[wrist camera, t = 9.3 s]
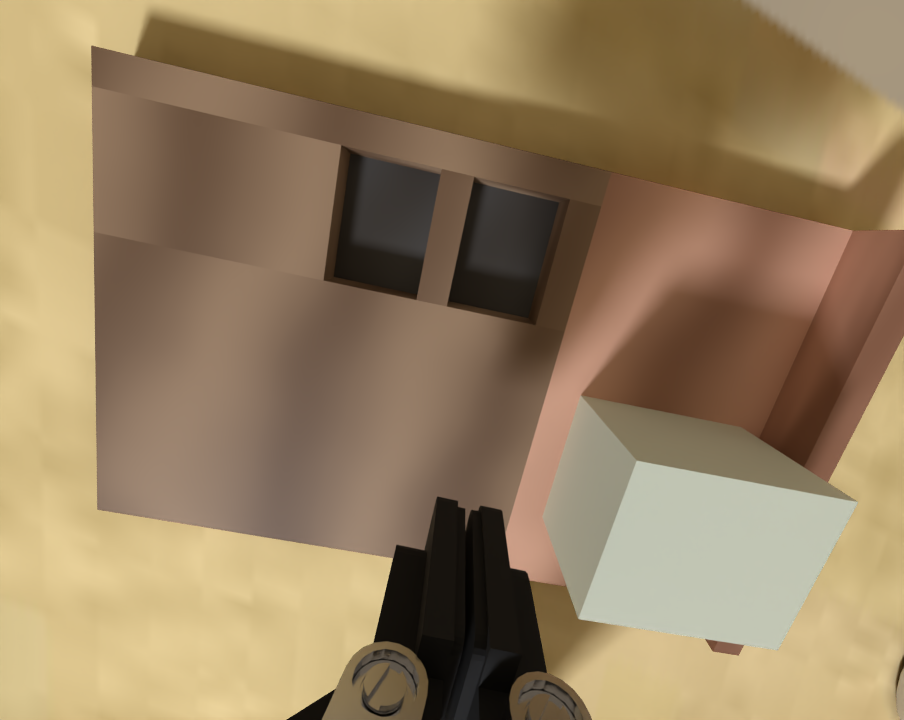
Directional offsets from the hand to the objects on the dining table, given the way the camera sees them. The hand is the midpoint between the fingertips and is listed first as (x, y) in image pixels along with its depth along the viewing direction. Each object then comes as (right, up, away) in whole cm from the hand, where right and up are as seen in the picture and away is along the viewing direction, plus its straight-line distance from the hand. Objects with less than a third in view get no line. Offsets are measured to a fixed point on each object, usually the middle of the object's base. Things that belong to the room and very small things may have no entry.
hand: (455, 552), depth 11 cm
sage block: (+7, +1, +5) cm, 8 cm away
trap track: (0, +4, +5) cm, 7 cm away
